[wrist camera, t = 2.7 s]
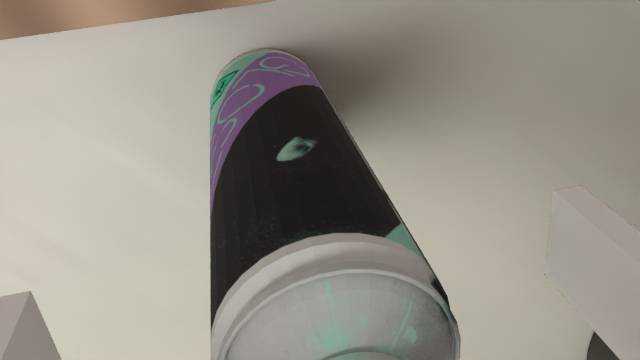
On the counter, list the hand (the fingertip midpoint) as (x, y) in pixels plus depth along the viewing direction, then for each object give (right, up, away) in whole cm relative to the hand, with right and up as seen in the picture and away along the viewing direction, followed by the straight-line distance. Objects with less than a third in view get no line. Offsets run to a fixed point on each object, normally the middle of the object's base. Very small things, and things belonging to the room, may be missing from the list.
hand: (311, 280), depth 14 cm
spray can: (-2, +6, +13) cm, 15 cm away
